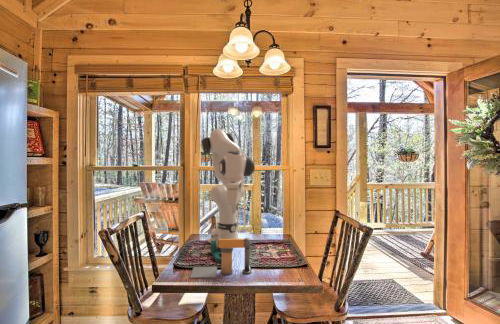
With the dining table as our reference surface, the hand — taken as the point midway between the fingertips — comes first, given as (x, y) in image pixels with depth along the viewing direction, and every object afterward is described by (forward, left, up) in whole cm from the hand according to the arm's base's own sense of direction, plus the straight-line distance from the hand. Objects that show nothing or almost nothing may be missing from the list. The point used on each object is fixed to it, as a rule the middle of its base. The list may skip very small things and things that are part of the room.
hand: (235, 211), depth 139 cm
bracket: (-22, +7, -31) cm, 39 cm away
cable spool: (-2, -3, -30) cm, 31 cm away
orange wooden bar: (0, 0, -18) cm, 18 cm away
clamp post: (+4, +4, -30) cm, 31 cm away
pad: (-9, -12, -30) cm, 34 cm away
